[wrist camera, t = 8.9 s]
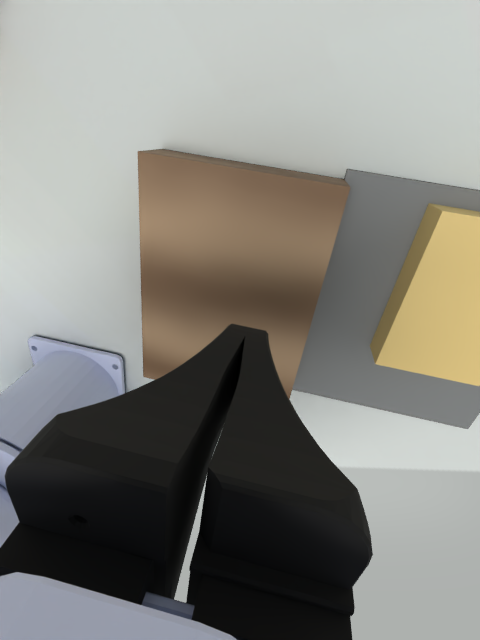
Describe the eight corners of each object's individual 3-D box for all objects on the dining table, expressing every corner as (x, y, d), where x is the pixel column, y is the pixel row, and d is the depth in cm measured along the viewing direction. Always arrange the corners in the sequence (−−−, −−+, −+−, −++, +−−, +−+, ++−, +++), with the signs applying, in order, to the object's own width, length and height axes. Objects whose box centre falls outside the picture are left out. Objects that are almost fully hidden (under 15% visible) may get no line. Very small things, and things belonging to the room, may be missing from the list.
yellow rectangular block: (375, 364, 20) (369, 345, 21) (479, 386, 19) (465, 365, 21) (442, 210, 15) (428, 203, 17) (582, 234, 14) (553, 223, 16)
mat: (466, 425, 23) (467, 429, 23) (286, 385, 24) (286, 388, 24) (618, 213, 16) (623, 214, 15) (347, 168, 17) (347, 169, 17)
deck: (288, 380, 24) (286, 409, 22) (160, 352, 25) (143, 376, 23) (344, 179, 17) (350, 187, 14) (162, 149, 18) (137, 151, 15)
